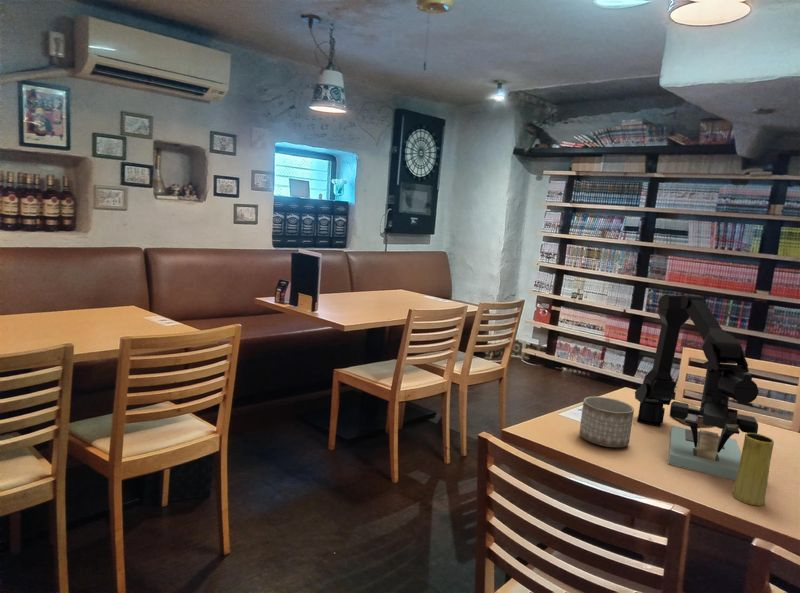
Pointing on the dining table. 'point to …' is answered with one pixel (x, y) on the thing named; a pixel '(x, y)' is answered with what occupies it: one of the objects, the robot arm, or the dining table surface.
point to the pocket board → (685, 457)
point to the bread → (697, 419)
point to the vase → (753, 469)
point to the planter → (606, 421)
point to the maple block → (707, 445)
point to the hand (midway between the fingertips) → (706, 449)
